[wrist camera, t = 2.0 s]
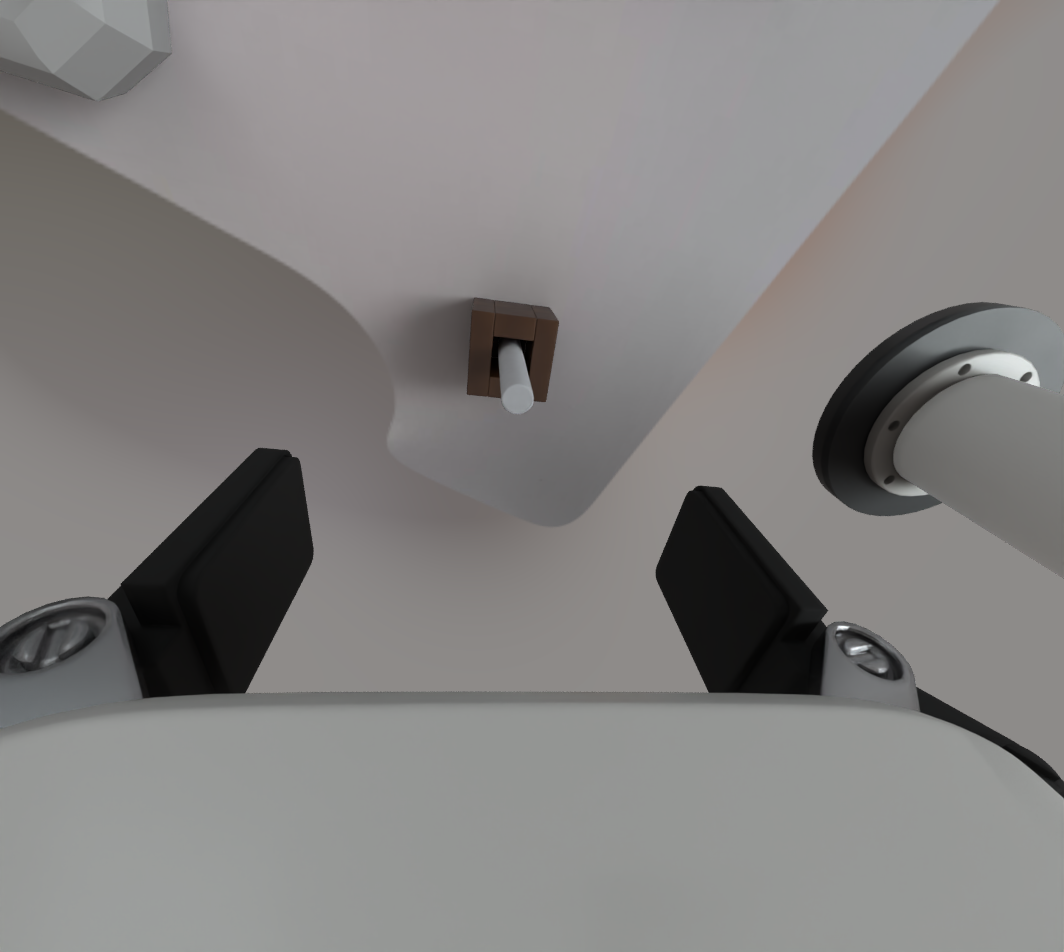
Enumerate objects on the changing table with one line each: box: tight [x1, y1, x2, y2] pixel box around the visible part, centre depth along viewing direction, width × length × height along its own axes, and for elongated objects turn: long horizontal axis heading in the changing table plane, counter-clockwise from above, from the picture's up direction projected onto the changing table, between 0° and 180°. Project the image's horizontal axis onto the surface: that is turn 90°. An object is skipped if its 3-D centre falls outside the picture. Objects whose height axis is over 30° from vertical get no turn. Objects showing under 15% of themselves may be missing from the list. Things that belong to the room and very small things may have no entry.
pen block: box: [467, 298, 559, 402], centre depth 25 cm, size 5×5×4 cm
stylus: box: [498, 337, 534, 414], centre depth 22 cm, size 1×1×10 cm
